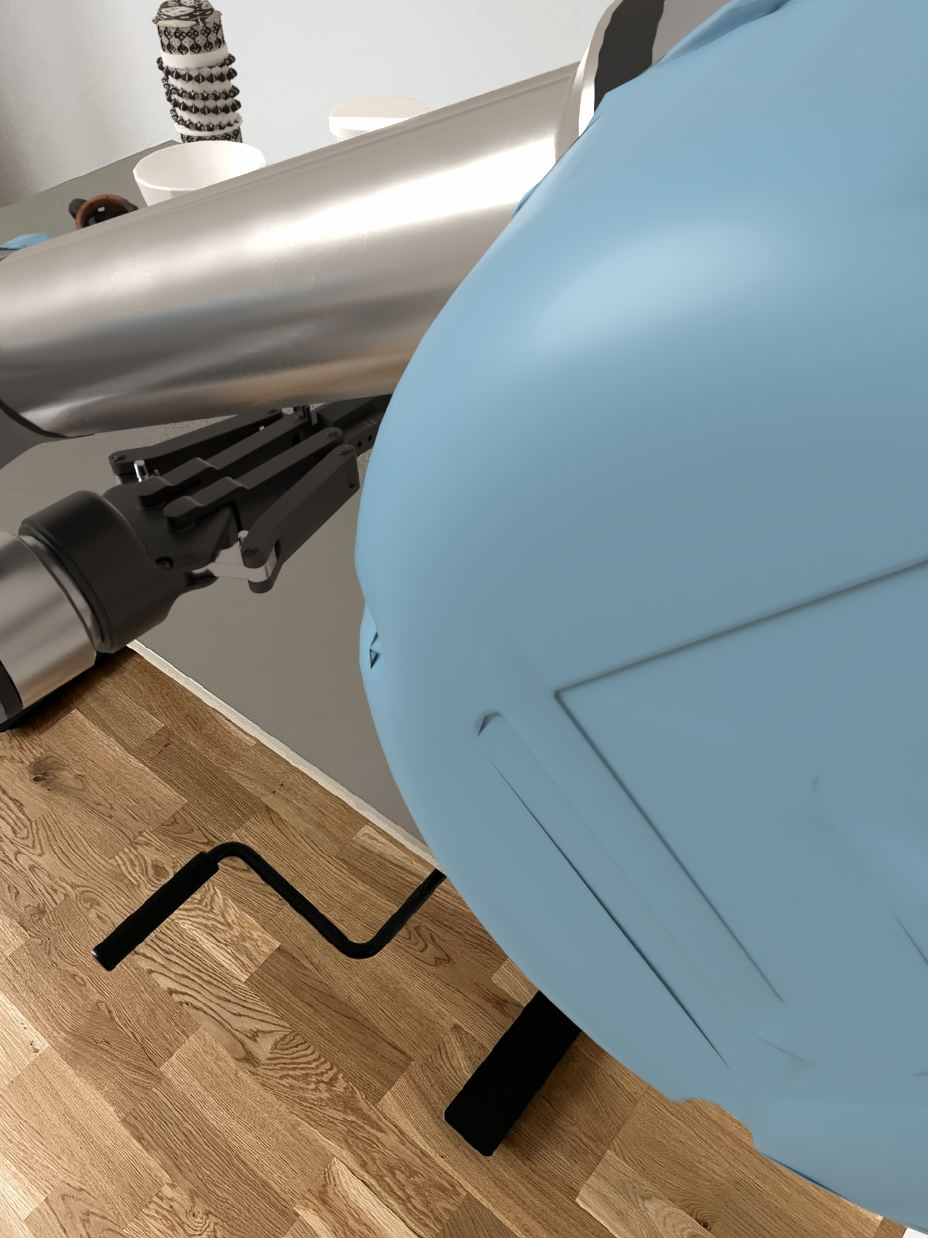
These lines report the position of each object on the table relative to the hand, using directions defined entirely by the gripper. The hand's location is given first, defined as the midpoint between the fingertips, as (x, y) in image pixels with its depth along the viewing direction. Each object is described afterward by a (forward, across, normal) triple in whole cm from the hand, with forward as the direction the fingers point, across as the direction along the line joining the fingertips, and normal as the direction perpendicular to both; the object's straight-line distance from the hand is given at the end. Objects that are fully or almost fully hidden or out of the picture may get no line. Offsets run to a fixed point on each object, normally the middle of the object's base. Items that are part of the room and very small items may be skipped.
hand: (409, 389), depth 59 cm
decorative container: (+41, -47, -22) cm, 66 cm away
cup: (+24, -56, -22) cm, 64 cm away
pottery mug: (+23, -78, -23) cm, 84 cm away
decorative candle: (+39, -76, -23) cm, 88 cm away
